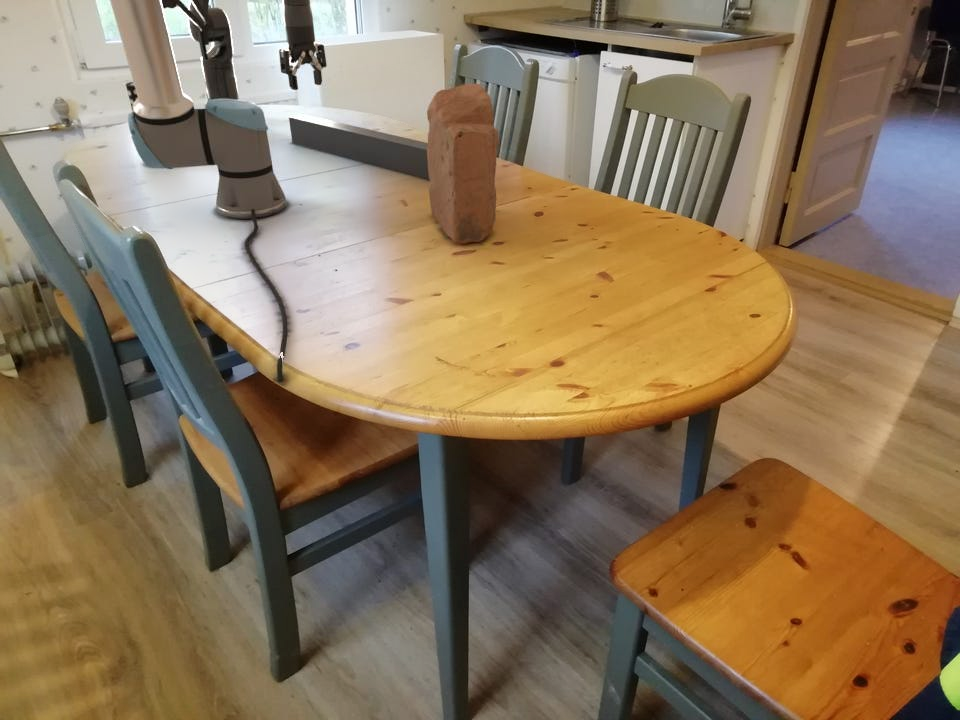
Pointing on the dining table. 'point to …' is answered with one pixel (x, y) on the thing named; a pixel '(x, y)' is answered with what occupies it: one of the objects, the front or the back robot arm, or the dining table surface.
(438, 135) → the stone
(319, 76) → the back robot arm
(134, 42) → the front robot arm
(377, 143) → the post
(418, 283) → the dining table surface
